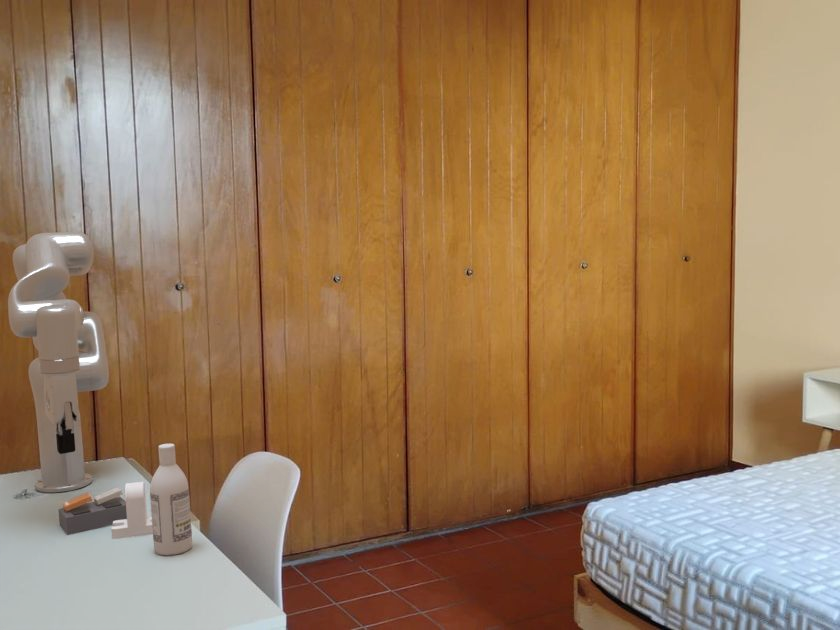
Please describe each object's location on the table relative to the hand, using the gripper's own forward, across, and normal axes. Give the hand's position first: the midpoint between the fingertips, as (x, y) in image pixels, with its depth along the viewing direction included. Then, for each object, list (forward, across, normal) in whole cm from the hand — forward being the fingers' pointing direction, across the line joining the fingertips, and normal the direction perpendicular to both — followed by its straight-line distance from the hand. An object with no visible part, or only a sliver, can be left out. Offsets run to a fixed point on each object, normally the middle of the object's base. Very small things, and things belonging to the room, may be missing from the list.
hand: (66, 451), depth 174 cm
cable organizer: (+14, +16, +9) cm, 24 cm away
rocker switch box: (+15, +4, +3) cm, 16 cm away
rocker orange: (+10, +4, 0) cm, 11 cm away
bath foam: (+13, +30, +12) cm, 35 cm away
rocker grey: (+10, +4, +7) cm, 12 cm away
